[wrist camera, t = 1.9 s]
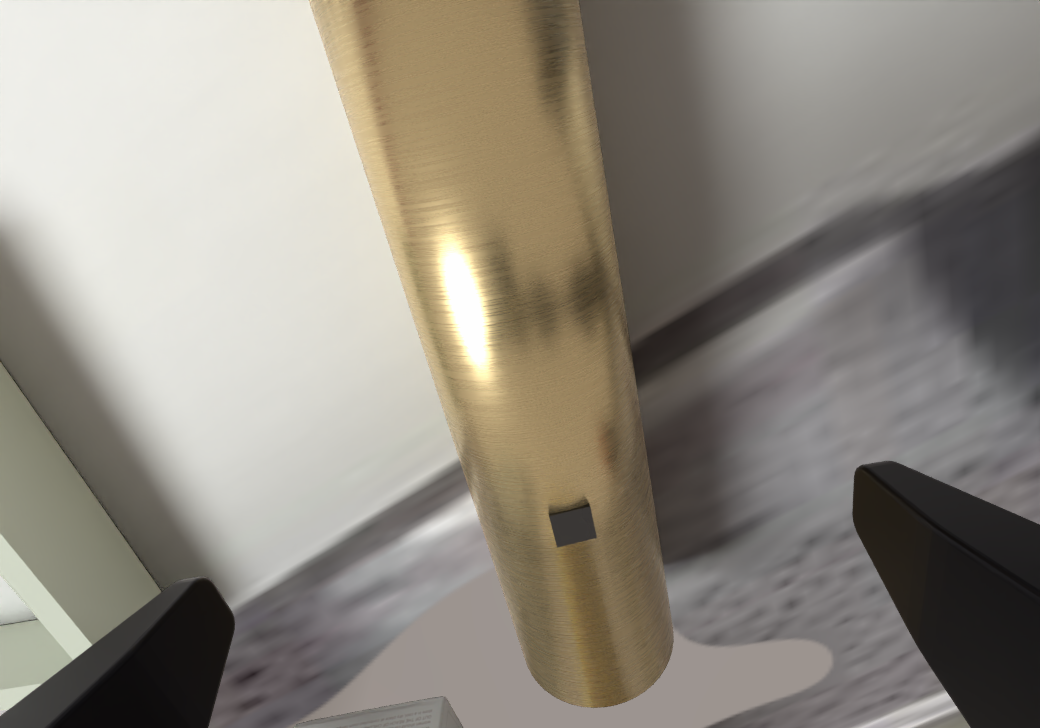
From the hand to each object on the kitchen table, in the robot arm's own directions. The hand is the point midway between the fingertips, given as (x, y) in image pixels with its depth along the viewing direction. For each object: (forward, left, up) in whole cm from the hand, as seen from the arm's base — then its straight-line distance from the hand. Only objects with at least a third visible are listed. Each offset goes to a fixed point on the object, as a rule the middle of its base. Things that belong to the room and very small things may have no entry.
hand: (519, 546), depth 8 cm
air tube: (0, 0, -10) cm, 10 cm away
